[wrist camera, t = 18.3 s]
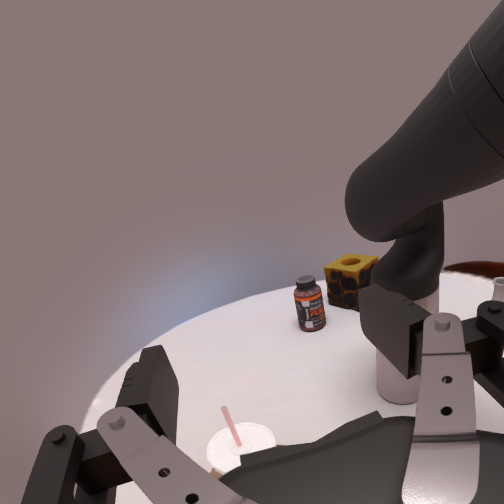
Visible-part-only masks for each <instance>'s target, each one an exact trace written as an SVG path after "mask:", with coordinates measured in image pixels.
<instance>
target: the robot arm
mask: <svg viewBox="0 0 504 504" xmlns="http://www.w3.org/2000/svg"><path fill="white" fill-rule="evenodd" d="M502 179H504V0H502V1H501V2H500V3H499V5H498V6H497V7H496V8H495V10H494V11H493V12H492V13H491V14H490V15H489V17H488V18H487V19H486V20H485V22H484V23H483V24H482V25H481V26H480V27H479V29H478V30H477V31H476V32H475V33H474V35H473V36H472V37H471V38H470V40H469V41H468V42H467V44H466V45H465V46H464V48H463V49H462V50H461V51H460V53H459V54H458V55H457V57H456V58H455V59H454V60H453V62H452V63H451V64H450V66H449V67H448V68H447V70H446V71H445V73H444V74H443V75H442V77H441V78H440V80H439V81H438V83H437V84H436V85H435V87H434V88H433V89H432V90H431V91H430V93H429V94H428V95H427V96H426V97H425V98H424V100H423V101H422V102H421V103H420V104H419V105H418V107H417V108H416V109H415V110H414V111H413V112H412V114H411V115H410V116H409V117H408V118H407V120H406V121H405V122H404V123H403V125H402V126H401V127H400V128H399V129H398V131H397V132H396V133H395V134H394V135H393V136H392V137H391V138H390V139H389V140H388V141H387V142H386V143H385V144H384V145H383V146H381V147H380V148H379V149H378V150H377V151H376V152H374V153H373V154H372V155H371V156H370V157H369V158H368V159H366V160H365V161H364V162H363V163H362V164H361V165H359V166H358V167H357V168H356V169H355V171H354V172H353V173H352V175H351V177H350V179H349V181H348V184H347V187H346V193H345V209H346V214H347V217H348V220H349V222H350V224H351V225H352V227H353V228H354V230H355V231H356V232H357V233H358V234H359V235H361V236H362V237H363V238H365V239H367V240H370V241H374V242H387V241H391V240H394V239H396V241H395V243H394V245H393V246H392V248H391V249H390V250H389V251H388V252H387V254H385V255H384V256H383V257H382V258H381V259H380V260H379V261H378V262H377V263H376V264H375V265H374V267H373V268H372V271H371V284H372V285H371V286H368V287H365V288H362V289H359V291H358V300H359V311H360V322H361V327H362V330H363V333H364V335H365V336H366V337H367V338H368V340H369V341H370V342H371V343H372V344H373V345H374V346H375V347H376V357H377V389H378V392H379V394H380V395H381V396H382V397H383V398H384V399H385V400H387V401H389V402H392V403H397V404H408V403H413V402H416V401H417V407H416V415H415V417H410V416H396V417H388V418H382V417H381V415H380V414H379V412H378V411H374V412H372V413H370V414H367V415H365V416H363V417H360V418H358V419H355V420H353V421H350V422H348V423H345V424H344V425H342V426H340V427H339V428H337V429H336V430H334V431H332V432H331V433H329V434H327V435H326V436H324V437H322V438H320V439H319V440H317V441H315V442H312V443H305V444H297V445H288V446H277V447H271V448H268V449H264V450H260V451H256V452H252V453H248V454H243V455H239V456H240V462H241V465H240V466H238V467H236V468H234V469H232V470H230V471H228V472H227V473H225V474H224V475H222V476H221V477H220V478H219V479H216V478H215V477H213V476H212V475H211V474H209V473H208V472H207V471H206V470H204V469H203V468H202V467H201V466H199V465H198V464H197V463H196V462H194V461H193V460H192V459H191V458H189V457H188V456H187V455H186V454H185V453H183V452H182V451H181V450H180V449H179V448H178V447H177V446H176V430H177V413H178V397H179V386H178V381H177V378H176V376H175V373H174V371H173V369H172V366H171V364H170V362H169V360H168V357H167V355H166V353H165V350H164V348H163V347H162V345H157V346H153V347H148V348H144V349H142V352H141V356H140V359H139V362H136V363H133V364H132V365H131V367H130V368H129V369H128V370H127V372H126V375H125V378H124V381H123V384H122V388H121V390H120V393H119V396H118V400H117V403H116V406H115V408H113V409H111V410H109V411H107V412H106V413H104V414H103V415H102V416H101V417H100V418H99V420H98V422H97V429H94V430H91V431H88V432H85V433H82V434H79V435H78V433H77V432H76V430H75V429H74V428H73V427H71V426H68V425H62V426H58V427H56V428H54V429H52V430H51V431H50V432H48V434H47V435H46V436H45V438H44V440H43V442H42V445H41V447H40V450H39V453H38V455H37V458H36V461H35V463H34V466H33V469H32V472H31V474H30V477H29V481H28V483H27V486H26V490H25V493H24V496H23V499H22V502H21V504H115V498H116V488H117V486H118V485H121V484H124V483H127V482H130V481H133V480H134V482H135V483H136V484H137V485H138V487H139V488H140V489H141V490H142V491H143V493H144V494H145V495H146V496H147V497H148V498H149V499H150V501H151V502H152V503H153V504H504V434H500V433H493V432H487V431H481V430H476V412H475V394H474V382H473V379H474V380H475V381H476V382H477V383H478V384H480V385H481V386H482V387H483V388H484V389H485V390H486V391H487V392H488V393H489V394H490V395H491V396H492V397H493V398H494V399H495V400H496V401H497V402H498V403H499V404H500V405H501V406H502V407H503V408H504V358H503V357H502V356H503V351H504V302H501V301H496V300H490V301H485V302H483V303H481V304H480V305H479V306H478V308H477V317H474V318H471V319H467V320H463V321H461V320H460V318H459V317H457V316H456V315H454V314H451V313H439V275H440V271H441V269H442V266H443V262H444V211H443V200H446V199H449V198H452V197H455V196H458V195H462V194H465V193H468V192H471V191H474V190H476V189H479V188H482V187H485V186H487V185H490V184H492V183H494V182H497V181H500V180H502ZM75 483H76V484H77V489H76V495H75V499H74V494H73V491H74V486H75Z"/></svg>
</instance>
